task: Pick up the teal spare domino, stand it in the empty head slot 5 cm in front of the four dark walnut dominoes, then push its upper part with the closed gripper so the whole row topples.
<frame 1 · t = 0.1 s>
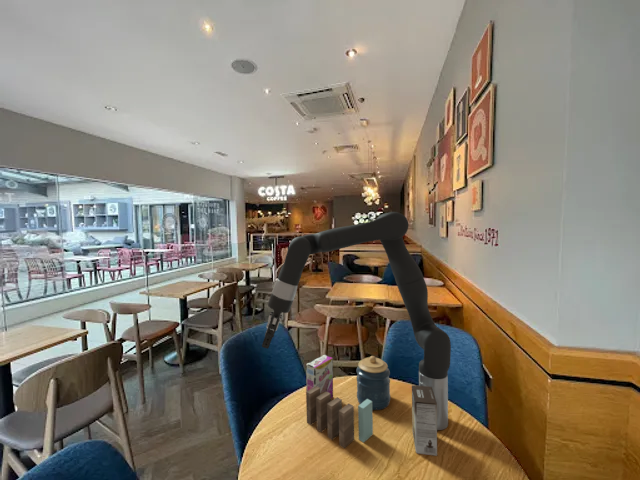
hand: (266, 342, 89), 31 cm above the table, tool tilted 20°, fingers open, 8 cm apart
coffee box: (424, 444, 86), on the table
domino 4: (324, 427, 94), on the table
spare domino: (365, 436, 89), on the table
domino 3: (335, 434, 91), on the table
canister: (373, 400, 108), on the table
candy bar box: (320, 402, 108), on the table
domino 5: (313, 420, 98), on the table
domino 2: (346, 442, 87), on the table
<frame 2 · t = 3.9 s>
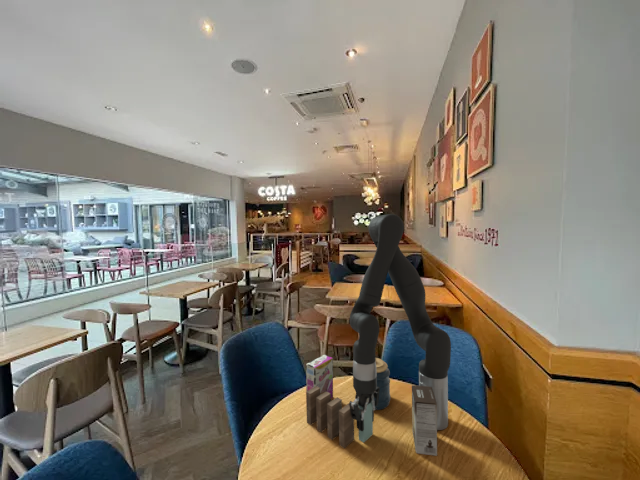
hand: (365, 424, 89), 4 cm above the table, tool pointing down, fingers closed on spare domino, 5 cm apart
spare domino: (365, 436, 89), on the table, touching gripper
everything else where it was.
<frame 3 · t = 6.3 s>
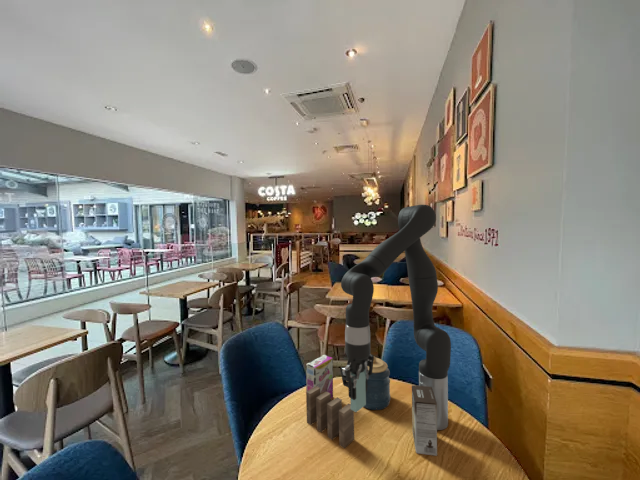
hand: (358, 394, 83), 17 cm above the table, tool pointing down, fingers closed on spare domino, 5 cm apart
spare domino: (358, 407, 83), point 13 cm above the table, touching gripper
everything else where it was.
when the fingers open (5 cm above the table, at t = 9.0 s): spare domino stays where it is, on the table.
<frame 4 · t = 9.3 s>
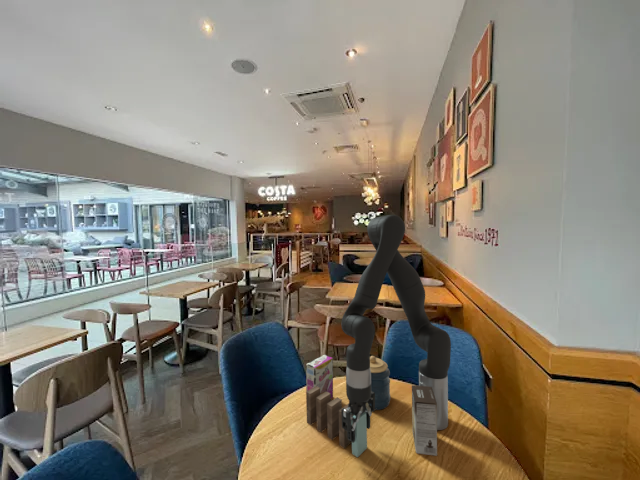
hand: (359, 433, 83), 5 cm above the table, tool pointing down, fingers open, 7 cm apart
spare domino: (359, 450, 84), on the table
everything else where it was.
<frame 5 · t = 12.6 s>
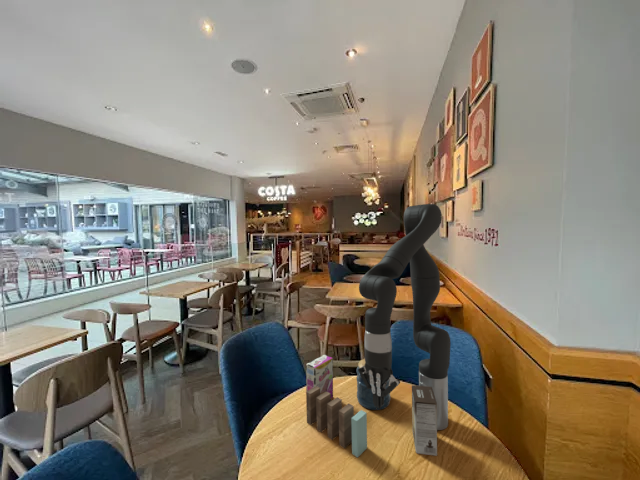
hand: (378, 406, 78), 17 cm above the table, tool pointing down, fingers closed
nothing on the table moved.
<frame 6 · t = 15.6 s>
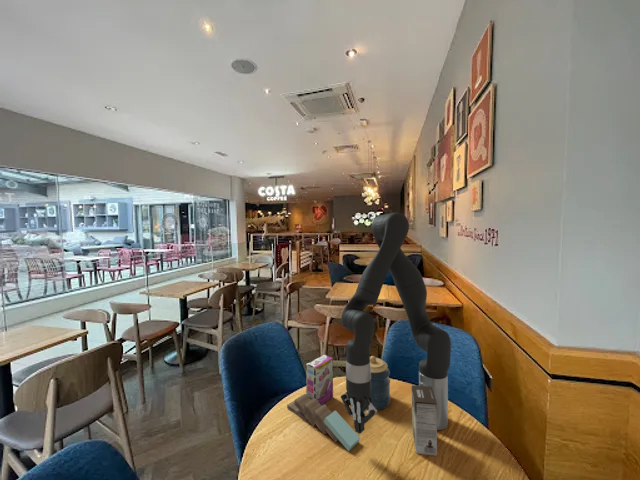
hand: (359, 431, 83), 6 cm above the table, tool pointing down, fingers closed
domino 4: (319, 421, 96), point 1 cm above the table, tilted 71°, touching domino 3
spare domino: (354, 444, 85), point 1 cm above the table, tilted 67°, touching domino 2
domino 3: (329, 428, 92), point 1 cm above the table, tilted 67°, touching domino 4
domino 5: (311, 417, 99), on the table, tilted 90°
domino 2: (341, 436, 89), point 1 cm above the table, tilted 67°, touching spare domino
everything else where it was.
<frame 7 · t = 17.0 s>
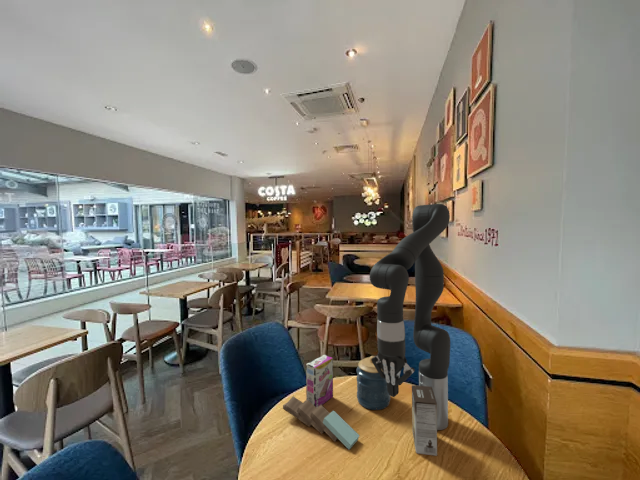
hand: (393, 395, 78), 20 cm above the table, tool pointing down, fingers closed
domino 4: (313, 419, 96), point 1 cm above the table, tilted 72°, touching domino 3, domino 5
spare domino: (354, 442, 86), point 1 cm above the table, tilted 68°, touching domino 2
domino 3: (326, 427, 93), point 1 cm above the table, tilted 68°, touching domino 2, domino 4
domino 5: (308, 416, 99), on the table, tilted 90°, touching domino 4
domino 2: (340, 435, 89), point 1 cm above the table, tilted 68°, touching domino 3, spare domino
everything else where it was.
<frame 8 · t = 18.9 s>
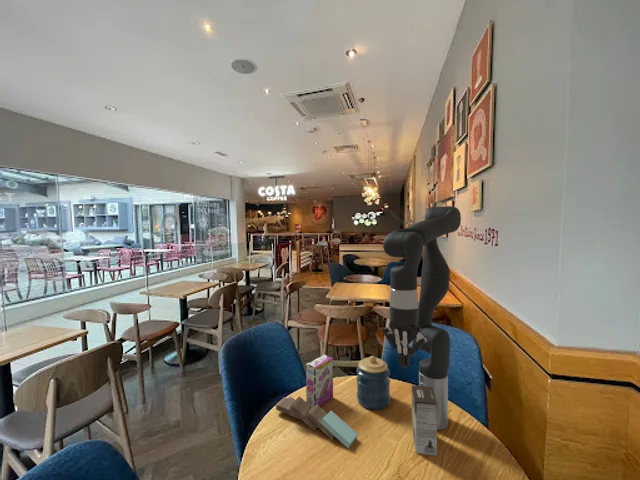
hand: (404, 366, 76), 29 cm above the table, tool pointing down, fingers closed
domino 4: (304, 412, 98), point 2 cm above the table, tilted 90°, touching domino 3
spare domino: (353, 441, 86), point 1 cm above the table, tilted 70°
domino 3: (319, 424, 94), point 1 cm above the table, tilted 62°, touching domino 2, domino 4
domino 5: (303, 414, 100), on the table, tilted 90°
domino 2: (337, 432, 90), point 1 cm above the table, tilted 69°, touching domino 3
everything else where it was.
at the end: domino 5 tilted 90°; spare domino tilted 70°; spare domino inside the target area (2.7 cm from its centre), point 1.0 cm above the table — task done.
